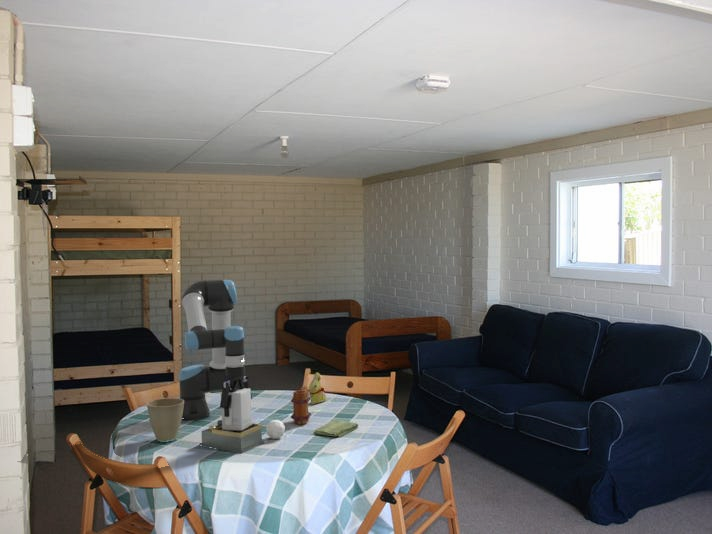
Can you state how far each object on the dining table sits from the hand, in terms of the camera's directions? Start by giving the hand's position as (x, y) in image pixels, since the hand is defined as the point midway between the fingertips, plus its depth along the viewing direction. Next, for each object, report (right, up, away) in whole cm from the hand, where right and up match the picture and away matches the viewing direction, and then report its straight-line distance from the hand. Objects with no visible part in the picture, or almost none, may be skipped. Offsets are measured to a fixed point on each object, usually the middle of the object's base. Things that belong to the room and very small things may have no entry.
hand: (237, 421), depth 272 cm
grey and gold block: (-2, -10, +2) cm, 10 cm away
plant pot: (-31, -10, +10) cm, 34 cm away
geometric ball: (+14, -9, +9) cm, 19 cm away
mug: (+24, -8, +34) cm, 42 cm away
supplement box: (0, -3, 0) cm, 3 cm away
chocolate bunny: (+29, -6, +67) cm, 74 cm away
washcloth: (+39, -9, +17) cm, 44 cm away
